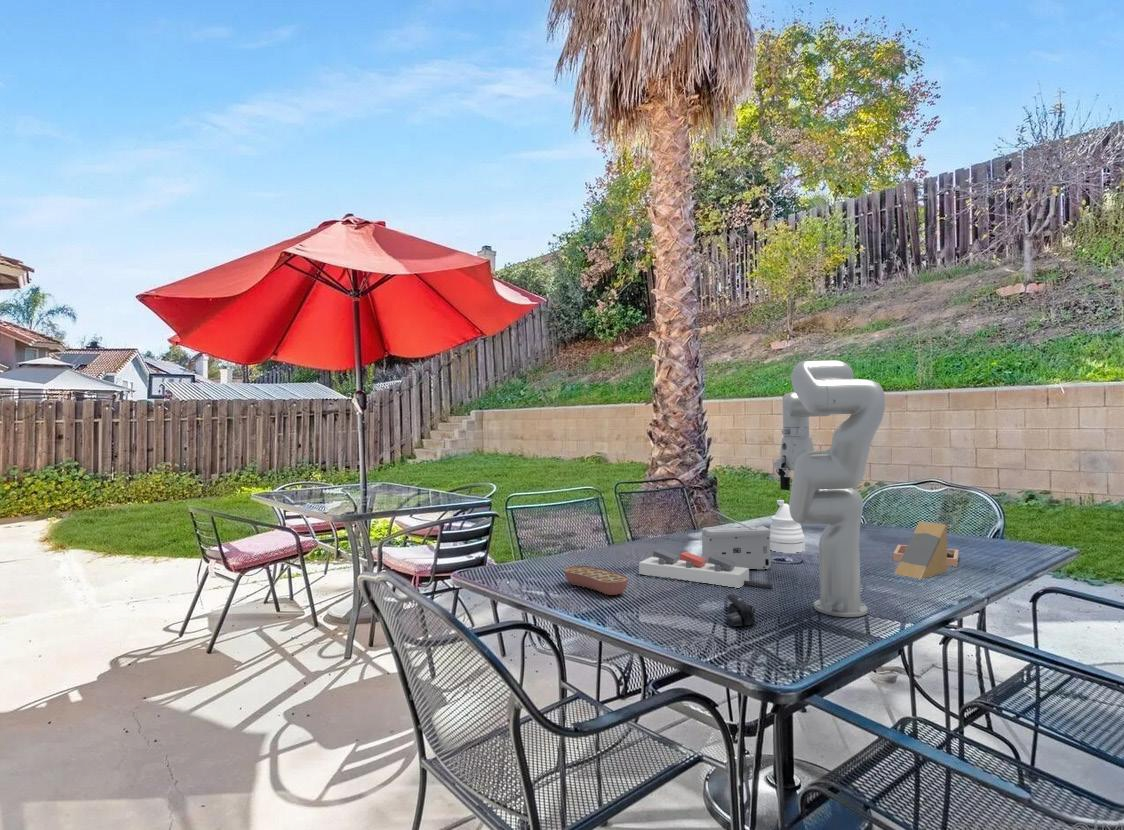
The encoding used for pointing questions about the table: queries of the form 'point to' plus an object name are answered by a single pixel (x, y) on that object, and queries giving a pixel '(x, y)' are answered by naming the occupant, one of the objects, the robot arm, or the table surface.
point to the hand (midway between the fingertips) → (797, 488)
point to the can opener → (740, 612)
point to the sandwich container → (925, 552)
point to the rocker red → (693, 559)
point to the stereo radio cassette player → (738, 545)
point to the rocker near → (721, 562)
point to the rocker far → (665, 556)
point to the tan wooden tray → (901, 548)
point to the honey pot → (786, 532)
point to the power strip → (698, 573)
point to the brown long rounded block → (597, 579)
